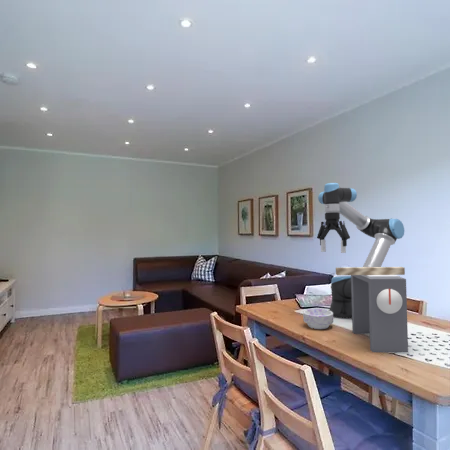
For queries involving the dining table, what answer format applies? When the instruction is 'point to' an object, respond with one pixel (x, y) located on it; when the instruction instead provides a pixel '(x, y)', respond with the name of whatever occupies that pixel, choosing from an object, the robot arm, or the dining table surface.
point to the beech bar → (370, 271)
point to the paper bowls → (318, 318)
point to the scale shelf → (380, 311)
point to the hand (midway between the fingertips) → (333, 252)
